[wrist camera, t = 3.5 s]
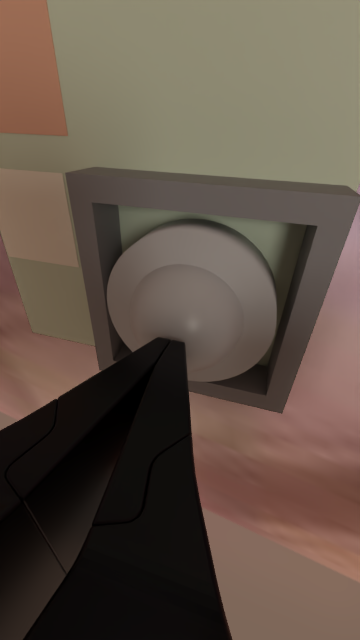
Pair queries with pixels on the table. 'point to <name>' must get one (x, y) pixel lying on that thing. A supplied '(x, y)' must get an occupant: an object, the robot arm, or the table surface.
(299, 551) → the table surface
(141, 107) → the board
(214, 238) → the dome
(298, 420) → the table surface
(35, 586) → the robot arm
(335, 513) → the table surface
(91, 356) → the table surface
